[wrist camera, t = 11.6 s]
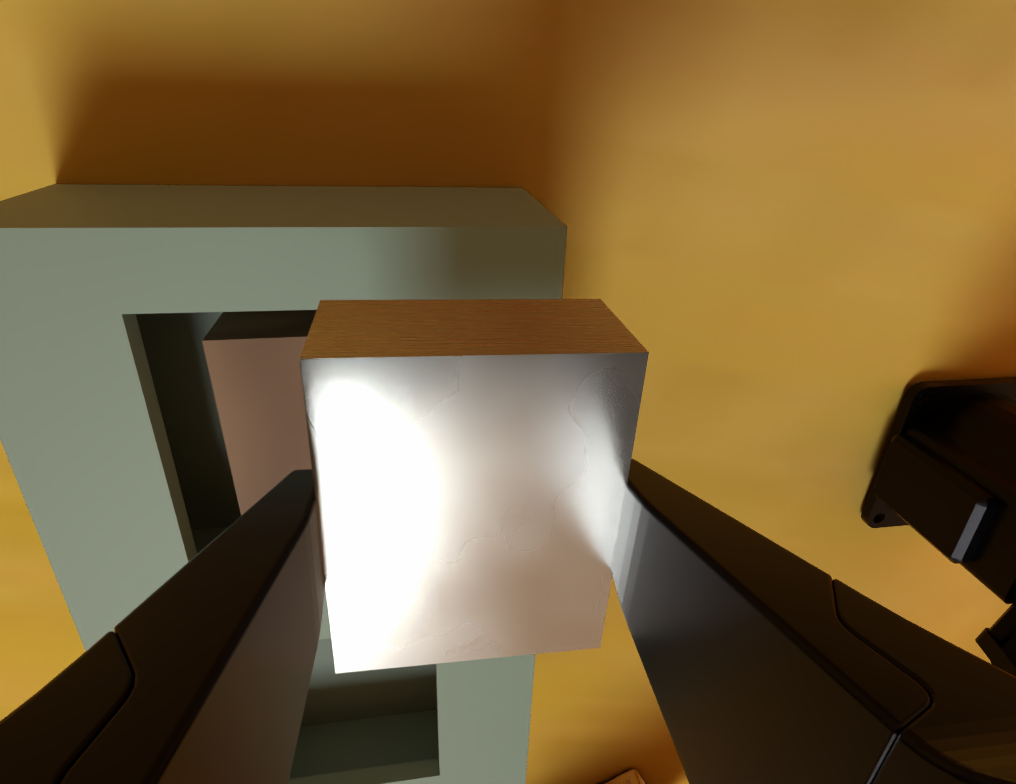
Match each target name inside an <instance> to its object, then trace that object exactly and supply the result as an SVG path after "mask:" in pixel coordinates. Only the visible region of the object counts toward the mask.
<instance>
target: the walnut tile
mask: <svg viewBox="0 0 1016 784" xmlns="http://www.w3.org/2000/svg"><path fill="white" fill-rule="evenodd" d="M316 311H317V310H283V311H240V312H223V313H222V314H221V316H220V317H219V318H218V320H217V321H216V322H215V324H214V325H213V327H212V328H211V329H210V331H209V332H208V333H207V335H206V336H205V337H204V339H203V340H202V343H203V347H204V352H205V356H206V361H207V365H208V369H209V374H210V378H211V383H212V387H213V392H214V396H215V401H216V405H217V410H218V414H219V419H220V423H221V428H222V432H223V437H224V441H225V446H226V450H227V455H228V459H229V464H230V468H231V473H232V477H233V481H234V486H235V490H236V495H237V499H238V504H239V508H240V513H241V516H242V515H243V514H244V513H245V512H246V511H247V510H248V509H250V508H251V507H252V506H253V505H254V504H255V503H256V502H258V501H259V500H260V499H261V498H262V497H263V496H264V495H266V494H267V493H268V492H269V491H270V490H271V489H272V488H274V487H275V486H276V485H277V484H278V483H279V482H280V481H282V480H283V479H284V478H285V477H286V476H287V475H288V474H290V473H291V472H292V471H294V470H303V469H312V465H311V456H310V447H309V439H308V430H307V421H306V413H305V404H304V395H303V387H302V378H301V369H300V361H299V358H300V355H301V353H302V350H303V347H304V344H305V341H306V339H307V336H308V333H309V330H310V327H311V325H312V322H313V319H314V316H315V314H316Z"/></svg>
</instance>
